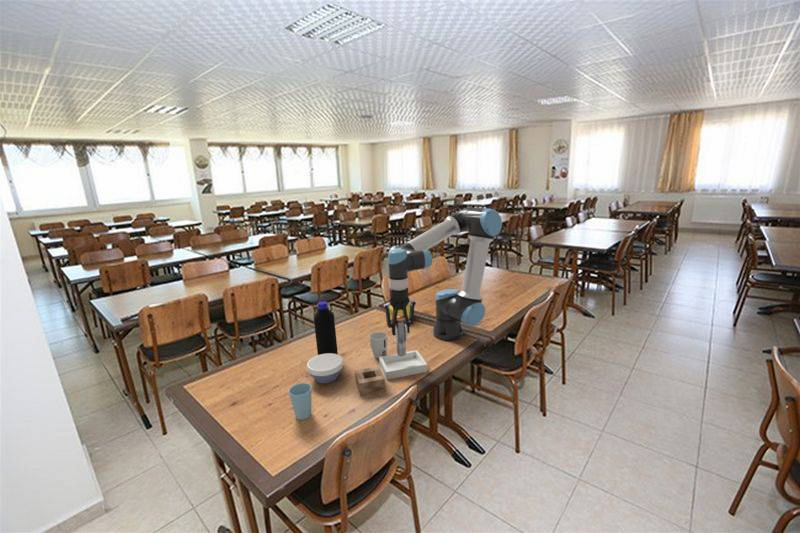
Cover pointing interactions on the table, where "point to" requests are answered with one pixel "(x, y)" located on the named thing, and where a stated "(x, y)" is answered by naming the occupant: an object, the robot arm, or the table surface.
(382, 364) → the tray
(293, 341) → the table surface
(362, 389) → the socket block
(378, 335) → the cup
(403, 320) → the pin
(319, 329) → the bottle
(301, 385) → the cup
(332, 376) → the bowl
